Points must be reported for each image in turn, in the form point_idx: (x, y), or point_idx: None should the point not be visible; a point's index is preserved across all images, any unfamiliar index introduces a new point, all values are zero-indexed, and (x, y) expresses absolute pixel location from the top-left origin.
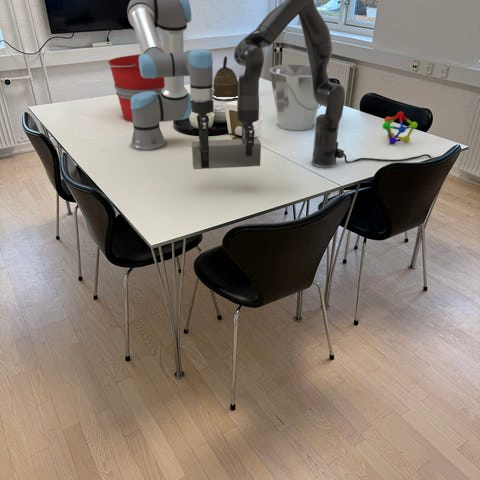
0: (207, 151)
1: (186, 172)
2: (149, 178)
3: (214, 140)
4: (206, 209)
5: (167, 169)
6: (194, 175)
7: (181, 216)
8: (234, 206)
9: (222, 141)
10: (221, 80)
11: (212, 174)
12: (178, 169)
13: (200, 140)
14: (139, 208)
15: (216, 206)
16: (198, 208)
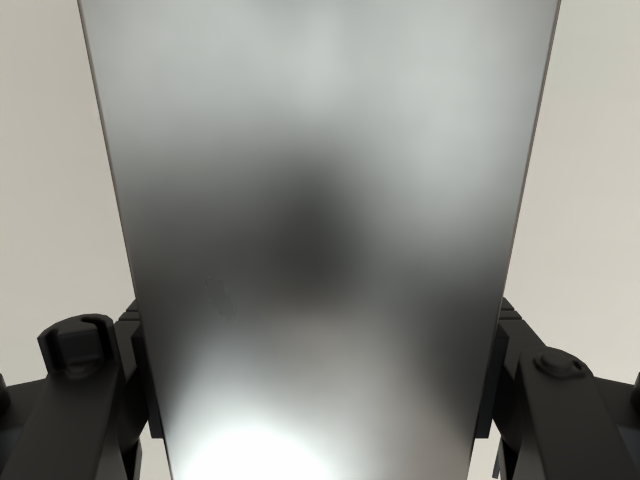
0: (497, 343)
1: (64, 285)
2: (159, 448)
3: (151, 237)
4: (584, 205)
5: (33, 378)
6: (107, 243)
7: (609, 326)
8: (614, 21)
9: (233, 15)
10: None
11: (81, 124)
12: (24, 326)
13: (138, 476)
14: (469, 472)
15: (569, 144)
16: (556, 246)
